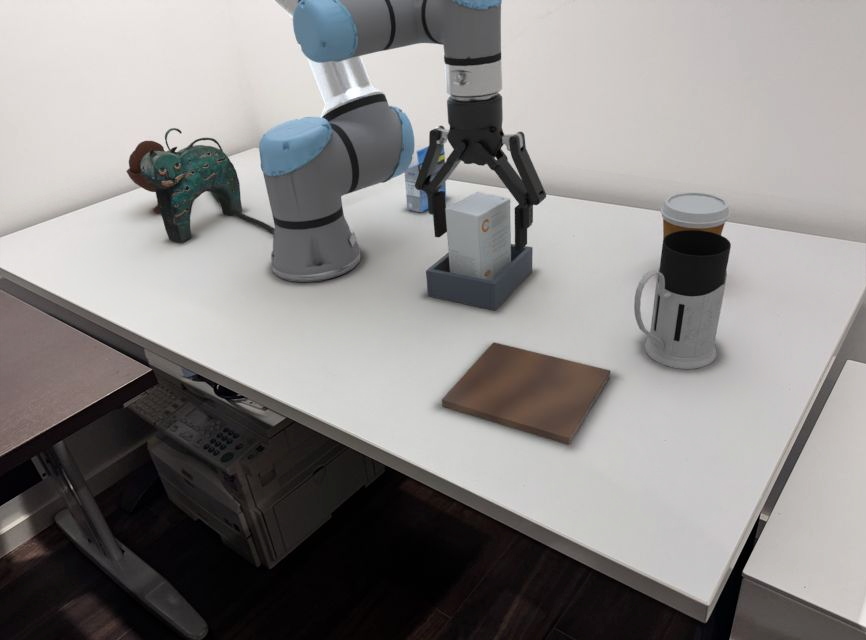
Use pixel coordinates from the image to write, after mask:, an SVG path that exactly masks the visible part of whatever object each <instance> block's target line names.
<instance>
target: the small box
mask: <svg viewBox="0 0 866 640" xmlns="http://www.w3.org/2000/svg"><path fill="white" fill-rule="evenodd" d="M445 211H446V225H447V232H446V236H447V251H448V252H449V265H450V273H454V274H460V275H465V276H470V277H475V278H480V279H485V280H490V281H493V280H494V279H495V278H496V277H497V276H498V275H499V274H500V273H501V272H502V271H503V270H504V269H505V268H506V267H507V266H508V265H509V264H510V263H511V244H512V235H511V233H512V231H511V229H512V228H511V227H512V225H511V198H509V197H506V196H502V195H496V194H491V193H486V192H481V191H476V192H474V193H472V194H470V195H469V196H467V197H465V198H463V199H461V200H459V201H457V202H454V203H453V204H450V206H446V208H445Z"/></svg>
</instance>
